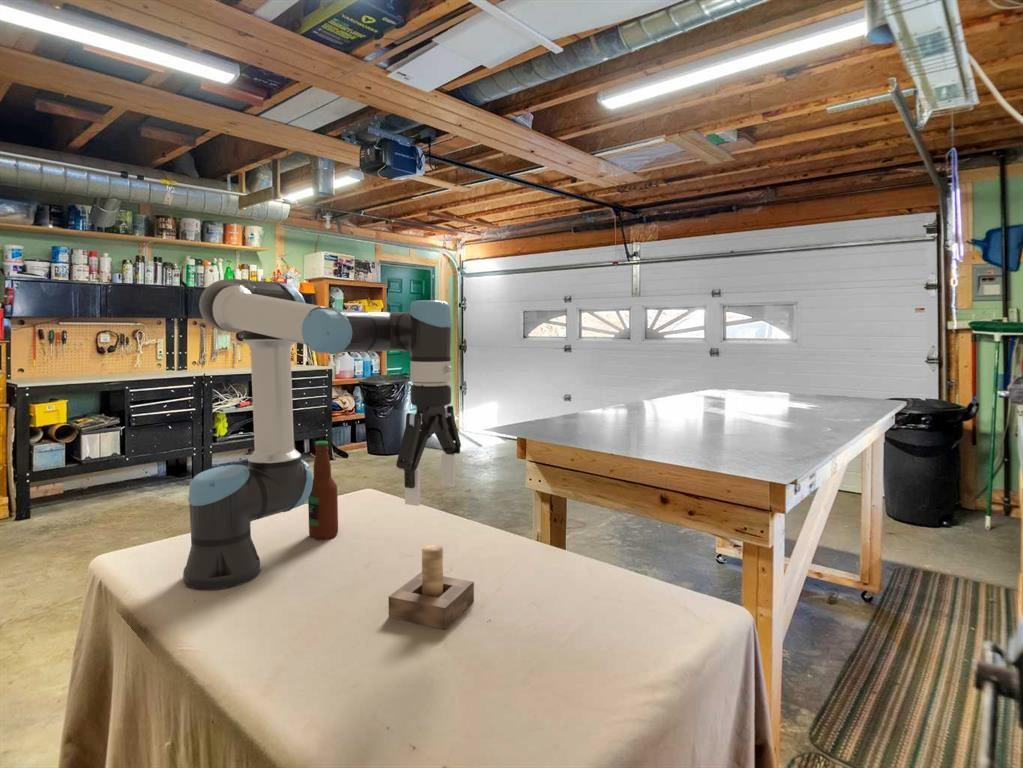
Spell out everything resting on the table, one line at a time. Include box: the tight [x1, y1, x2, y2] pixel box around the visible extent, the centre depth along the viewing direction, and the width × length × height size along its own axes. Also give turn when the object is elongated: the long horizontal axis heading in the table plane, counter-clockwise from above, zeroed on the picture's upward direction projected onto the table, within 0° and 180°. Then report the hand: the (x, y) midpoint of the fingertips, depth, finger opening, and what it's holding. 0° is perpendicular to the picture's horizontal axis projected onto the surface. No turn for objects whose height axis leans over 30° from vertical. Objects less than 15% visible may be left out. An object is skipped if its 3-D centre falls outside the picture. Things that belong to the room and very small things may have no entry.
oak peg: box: [421, 544, 444, 598], centre depth 112 cm, size 4×4×12 cm
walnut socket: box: [388, 571, 475, 630], centre depth 112 cm, size 12×12×4 cm
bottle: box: [307, 440, 339, 541], centre depth 151 cm, size 7×7×25 cm
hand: (431, 494), depth 111 cm, fingers open, 13 cm apart
